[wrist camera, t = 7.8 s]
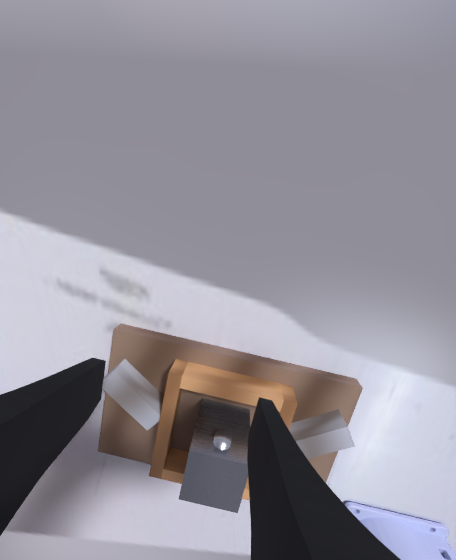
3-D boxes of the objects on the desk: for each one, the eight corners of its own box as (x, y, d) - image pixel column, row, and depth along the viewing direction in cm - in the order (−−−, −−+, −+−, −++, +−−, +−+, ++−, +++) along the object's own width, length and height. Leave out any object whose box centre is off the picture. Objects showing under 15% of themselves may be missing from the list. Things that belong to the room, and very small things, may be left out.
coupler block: (250, 404, 21) (252, 460, 16) (238, 452, 22) (236, 517, 17) (203, 393, 21) (190, 445, 16) (192, 441, 22) (177, 503, 17)
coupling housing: (356, 378, 21) (375, 405, 18) (313, 490, 24) (324, 530, 21) (120, 323, 21) (99, 340, 18) (105, 440, 24) (84, 472, 21)
